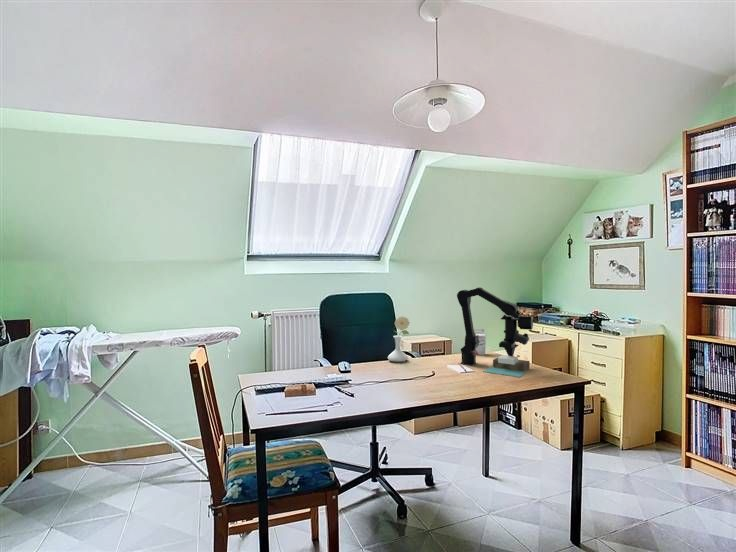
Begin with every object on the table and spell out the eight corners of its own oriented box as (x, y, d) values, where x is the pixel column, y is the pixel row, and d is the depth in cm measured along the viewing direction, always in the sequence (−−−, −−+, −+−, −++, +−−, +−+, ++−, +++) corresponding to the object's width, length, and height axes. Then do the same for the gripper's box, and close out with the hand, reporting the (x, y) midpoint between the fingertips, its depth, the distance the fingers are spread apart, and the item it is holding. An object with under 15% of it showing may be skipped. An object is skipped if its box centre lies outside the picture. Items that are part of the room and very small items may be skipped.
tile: (498, 362, 216) (497, 357, 216) (502, 359, 221) (502, 354, 220) (513, 364, 211) (513, 359, 211) (518, 361, 216) (517, 356, 216)
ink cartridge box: (470, 355, 251) (470, 329, 251) (469, 353, 256) (469, 328, 256) (485, 355, 250) (485, 330, 250) (484, 353, 255) (484, 328, 255)
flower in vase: (383, 361, 236) (383, 316, 236) (393, 357, 246) (393, 314, 245) (405, 364, 230) (404, 318, 229) (414, 360, 239) (414, 315, 238)
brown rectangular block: (493, 367, 221) (493, 359, 221) (498, 364, 228) (498, 357, 227) (524, 372, 212) (524, 364, 211) (529, 368, 218) (529, 360, 218)
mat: (482, 371, 213) (482, 371, 213) (491, 367, 222) (491, 366, 222) (519, 377, 202) (519, 376, 202) (526, 372, 211) (526, 371, 211)
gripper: (521, 332, 206) (521, 364, 207) (532, 327, 221) (532, 357, 222) (498, 330, 213) (498, 361, 213) (510, 325, 228) (510, 354, 228)
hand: (511, 358), depth 219 cm, fingers closed
